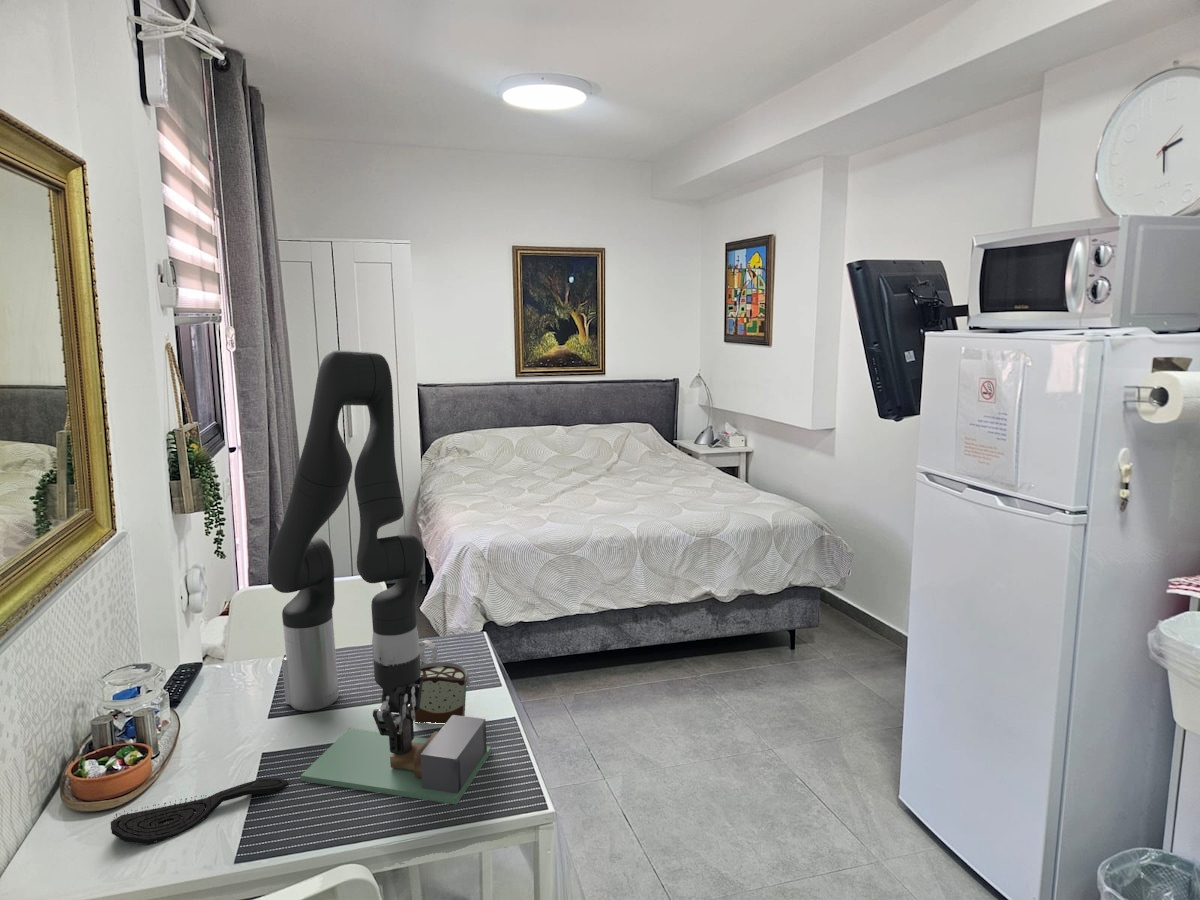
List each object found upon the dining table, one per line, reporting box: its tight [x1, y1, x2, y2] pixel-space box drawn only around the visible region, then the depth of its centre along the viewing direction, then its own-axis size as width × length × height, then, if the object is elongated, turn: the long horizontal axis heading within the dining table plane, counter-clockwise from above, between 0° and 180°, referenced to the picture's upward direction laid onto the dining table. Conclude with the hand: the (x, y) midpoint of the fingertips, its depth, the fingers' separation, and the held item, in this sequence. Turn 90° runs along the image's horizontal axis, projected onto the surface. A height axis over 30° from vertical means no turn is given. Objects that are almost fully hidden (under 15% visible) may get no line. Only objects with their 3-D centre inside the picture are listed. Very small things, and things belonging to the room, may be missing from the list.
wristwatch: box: [419, 639, 439, 664], centre depth 172 cm, size 3×5×5 cm, turn 54°
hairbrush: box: [110, 777, 289, 846], centre depth 123 cm, size 8×4×25 cm
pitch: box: [300, 727, 492, 805], centre depth 135 cm, size 28×15×1 cm, turn 76°
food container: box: [413, 661, 471, 723], centre depth 150 cm, size 12×6×10 cm, turn 84°
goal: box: [420, 715, 488, 794], centre depth 132 cm, size 6×12×6 cm, turn 166°
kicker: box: [390, 718, 439, 778], centre depth 133 cm, size 7×8×7 cm
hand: (402, 745), depth 134 cm, fingers closed on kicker, 3 cm apart
